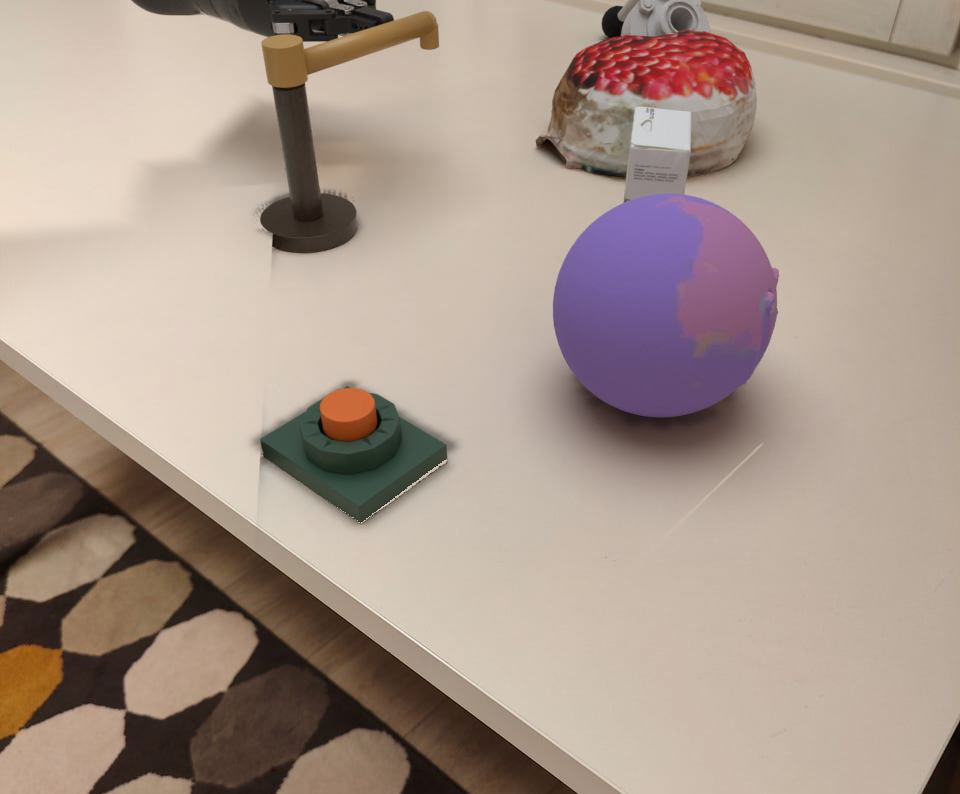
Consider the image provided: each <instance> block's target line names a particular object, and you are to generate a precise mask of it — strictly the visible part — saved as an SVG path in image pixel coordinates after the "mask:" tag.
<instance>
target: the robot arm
mask: <svg viewBox="0 0 960 794" xmlns="http://www.w3.org/2000/svg"><path fill="white" fill-rule="evenodd" d="M130 1H131V2H132V3H133V4H135V5H136V6H137V7H139V8H140V9H142V10H144V11H145V12H148V13H151V14H154V15H159V16H168V17H169V16H171V17H173V16H175V17H176V16H177V17H178V16H179V17H180V16H181V17H192V16H208V17H210V18H213V19H216V20H219V21H223V22H227V23H229V24H231V25H233V26H235V27H237V28H239V29H241V30H244V31H246V32H249V33H253V34H255V35H259V36H261V37H262V36H263V37H266V38H268V37H271V36H275V35H296V36H299V37H301V38H302V40H303V43H308V42H309V43H312V42H314V43H315V42H317V43H318V42H321V43H324V42H327V41H331V40H334V39H337V38H339V36H340V37H343V36H346V35H350V34H353V33H356V32H359V31H362V30H365V29H369V28H372V27H375V26H378V25H381V24H384V23H388V22H391V21H394V20H395V18H394V15H393V14H392V13H391V12H387V11H383V10H381V9H377V0H130Z"/></svg>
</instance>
